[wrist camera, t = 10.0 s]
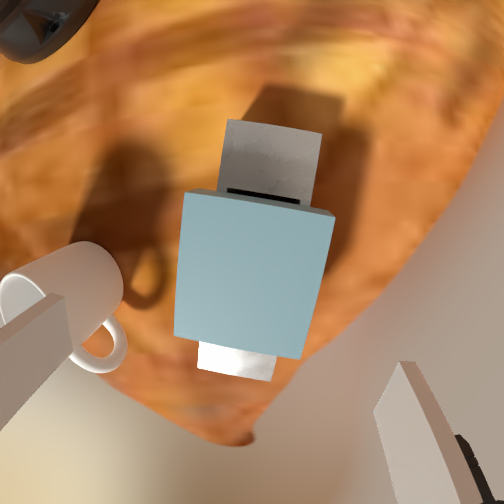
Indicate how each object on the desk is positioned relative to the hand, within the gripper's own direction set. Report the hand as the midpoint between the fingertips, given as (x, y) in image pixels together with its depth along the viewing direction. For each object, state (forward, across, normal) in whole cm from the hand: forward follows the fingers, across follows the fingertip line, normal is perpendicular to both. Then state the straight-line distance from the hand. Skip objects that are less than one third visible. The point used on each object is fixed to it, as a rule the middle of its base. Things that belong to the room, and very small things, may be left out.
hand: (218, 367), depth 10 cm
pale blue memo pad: (+15, 0, 0) cm, 15 cm away
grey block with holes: (+16, 0, 0) cm, 16 cm away
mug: (+16, -14, -7) cm, 23 cm away
